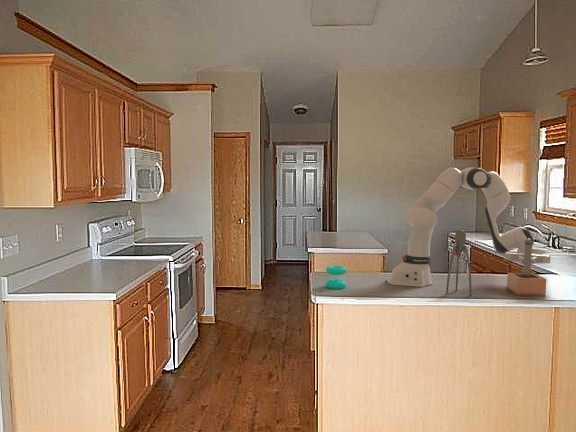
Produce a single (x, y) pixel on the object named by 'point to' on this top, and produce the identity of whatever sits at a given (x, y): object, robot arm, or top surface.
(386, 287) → the top surface
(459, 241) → the juicer
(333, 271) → the donuts
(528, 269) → the pepper mill
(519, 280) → the orange open box
